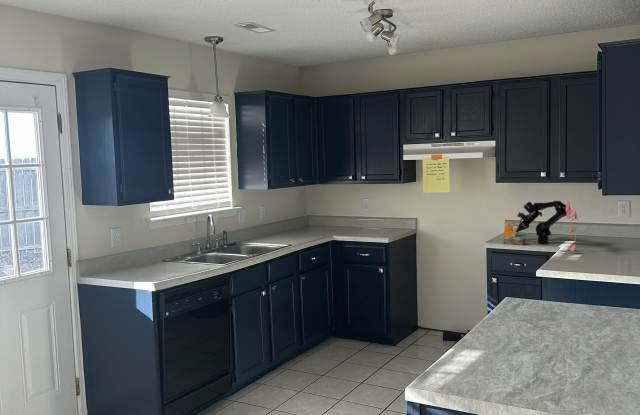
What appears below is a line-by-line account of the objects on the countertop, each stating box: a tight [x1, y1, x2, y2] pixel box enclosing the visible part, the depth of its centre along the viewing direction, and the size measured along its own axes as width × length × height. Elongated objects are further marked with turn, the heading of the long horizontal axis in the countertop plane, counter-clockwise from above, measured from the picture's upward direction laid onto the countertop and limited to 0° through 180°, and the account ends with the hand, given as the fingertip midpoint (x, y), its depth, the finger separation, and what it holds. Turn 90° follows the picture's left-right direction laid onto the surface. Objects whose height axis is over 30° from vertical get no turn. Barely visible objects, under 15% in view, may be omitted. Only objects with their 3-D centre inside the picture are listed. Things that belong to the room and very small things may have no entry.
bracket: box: [502, 220, 516, 237], centre depth 481 cm, size 11×7×12 cm, turn 64°
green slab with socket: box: [502, 236, 527, 246], centre depth 449 cm, size 15×12×5 cm
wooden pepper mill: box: [512, 223, 519, 237], centre depth 459 cm, size 4×4×13 cm
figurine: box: [565, 200, 579, 252], centre depth 410 cm, size 15×26×35 cm, turn 166°
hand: (516, 230), depth 458 cm, fingers open, 9 cm apart
